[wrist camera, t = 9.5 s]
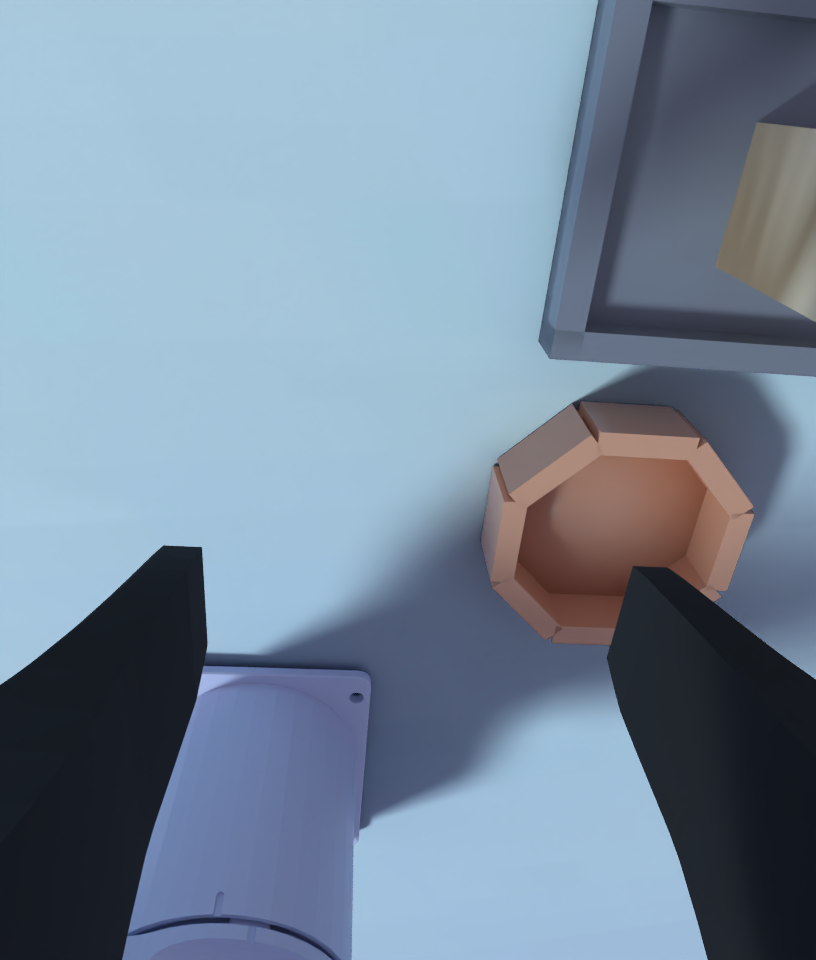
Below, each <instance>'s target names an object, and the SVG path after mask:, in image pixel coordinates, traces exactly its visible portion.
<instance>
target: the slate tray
mask: <svg viewBox="0 0 816 960" xmlns="http://www.w3.org/2000/svg"><path fill="white" fill-rule="evenodd" d="M757 122H760V123H769V124H779V125H788V126H798V127H807V128H816V0H598V5H597V11H596V17H595V22H594V28H593V34H592V39H591V45H590V51H589V56H588V62H587V68H586V73H585V79H584V85H583V91H582V96H581V102H580V108H579V113H578V119H577V125H576V130H575V136H574V142H573V147H572V153H571V159H570V164H569V170H568V176H567V182H566V187H565V193H564V199H563V204H562V210H561V216H560V221H559V227H558V233H557V238H556V244H555V250H554V255H553V261H552V267H551V272H550V278H549V284H548V290H547V295H546V301H545V307H544V312H543V318H542V324H541V329H540V335H539V343H540V344H541V346H542V348H543V349H544V351H545V352H546V354H547V355H548V357H549V358H550V359H560V360H575V361H590V362H605V363H619V364H634V365H649V366H664V367H679V368H694V369H709V370H724V371H739V372H754V373H769V374H784V375H799V376H814V377H816V322H815V321H813V320H811V319H809V318H807V317H805V316H804V315H802V314H800V313H798V312H796V311H795V310H793V309H791V308H789V307H787V306H786V305H784V304H782V303H780V302H778V301H776V300H775V299H773V298H771V297H769V296H767V295H766V294H764V293H762V292H760V291H758V290H757V289H755V288H753V287H751V286H749V285H747V284H746V283H744V282H742V281H740V280H738V279H737V278H735V277H733V276H731V275H729V274H728V273H726V272H724V271H722V270H720V269H718V268H717V267H715V265H716V262H717V259H718V255H719V252H720V248H721V245H722V241H723V238H724V234H725V231H726V227H727V224H728V220H729V217H730V213H731V210H732V206H733V203H734V200H735V196H736V193H737V189H738V186H739V182H740V179H741V175H742V172H743V168H744V165H745V161H746V158H747V154H748V151H749V148H750V144H751V141H752V137H753V134H754V130H755V127H756V123H757Z"/></svg>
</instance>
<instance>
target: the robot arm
mask: <svg viewBox="0 0 816 960" xmlns="http://www.w3.org/2000/svg"><path fill="white" fill-rule="evenodd" d="M206 650H207V627H206V610H205V593H204V576H203V558H202V547H184V546H163V547H161V548H160V549H159V550H158V551H157V552H156V553H155V554H153V555H152V556H151V557H150V558H149V559H148V560H147V561H146V562H145V563H144V564H143V565H142V566H141V567H140V568H139V569H138V570H137V571H136V572H135V573H134V574H133V575H132V576H131V577H130V578H129V579H128V580H126V581H125V582H124V583H123V584H122V585H121V586H120V587H119V588H118V589H117V590H116V591H115V592H114V593H113V594H112V595H111V596H110V597H108V598H107V599H106V600H105V601H104V602H103V603H102V604H101V605H100V606H98V607H97V608H96V609H95V610H94V611H93V612H92V613H91V614H90V615H88V616H87V617H86V618H85V619H84V620H83V621H82V622H81V623H80V624H78V625H77V626H76V627H75V628H74V629H73V630H71V631H70V632H69V633H68V634H66V635H65V636H64V637H63V638H61V639H60V640H59V641H58V642H57V643H55V644H54V645H53V646H52V647H50V648H49V649H48V650H47V651H46V652H44V653H43V654H42V655H41V656H39V657H38V658H37V659H36V660H34V661H33V662H32V663H30V664H29V665H28V666H26V667H25V668H24V669H22V670H21V671H20V672H18V673H17V674H15V675H14V676H13V677H11V678H10V679H8V680H7V681H5V682H4V683H2V684H1V685H0V960H351V957H352V900H353V845H355V844H356V843H357V842H358V839H359V827H360V815H361V803H362V791H363V779H364V767H365V755H366V743H367V731H368V719H369V707H370V695H371V678H370V676H369V675H368V674H367V673H365V672H363V671H357V670H324V669H290V668H257V667H224V666H204V660H205V655H206ZM607 660H608V664H609V668H610V673H611V677H612V681H613V685H614V689H615V693H616V697H617V700H618V704H619V708H620V711H621V714H622V717H623V719H624V722H625V724H626V727H627V730H628V732H629V735H630V737H631V740H632V742H633V745H634V747H635V750H636V752H637V755H638V757H639V759H640V762H641V764H642V767H643V769H644V772H645V774H646V776H647V779H648V781H649V784H650V786H651V789H652V791H653V794H654V796H655V798H656V801H657V803H658V806H659V808H660V811H661V813H662V815H663V818H664V820H665V823H666V825H667V828H668V830H669V833H670V835H671V838H672V841H673V844H674V846H675V849H676V852H677V855H678V858H679V860H680V864H681V867H682V870H683V874H684V877H685V881H686V884H687V887H688V891H689V894H690V897H691V901H692V904H693V908H694V911H695V914H696V918H697V921H698V925H699V929H700V932H701V936H702V940H703V944H704V947H705V951H706V955H707V958H708V960H816V679H814V678H813V677H811V676H810V675H808V674H807V673H806V672H804V671H803V670H801V669H800V668H799V667H797V666H796V665H794V664H793V663H791V662H790V661H789V660H787V659H786V658H785V657H783V656H782V655H781V654H779V653H778V652H777V651H775V650H774V649H773V648H771V647H770V646H769V645H767V644H766V643H765V642H763V641H762V640H761V639H759V638H758V637H757V636H756V635H754V634H753V633H752V632H750V631H749V630H748V629H747V628H745V627H744V626H743V625H742V624H740V623H739V622H738V621H736V620H735V619H734V618H733V617H731V616H730V615H729V614H728V613H726V612H725V611H724V610H723V609H721V608H720V607H719V606H718V605H716V604H715V603H714V602H713V601H711V600H710V599H709V598H708V597H706V596H705V595H704V594H703V593H701V592H700V591H699V590H698V589H696V588H695V587H694V586H692V585H691V584H690V583H689V582H687V581H686V580H685V579H683V578H682V577H681V576H679V575H678V574H676V573H675V572H674V571H672V570H671V569H669V568H668V567H645V566H633V567H632V571H631V574H630V578H629V582H628V585H627V589H626V592H625V596H624V599H623V603H622V606H621V610H620V613H619V617H618V621H617V624H616V628H615V631H614V635H613V638H612V642H611V645H610V649H609V652H608V656H607ZM353 693H361V695H352V694H353Z"/></svg>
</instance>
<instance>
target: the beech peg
mask: <svg viewBox="0 0 816 960" xmlns="http://www.w3.org/2000/svg"><path fill="white" fill-rule="evenodd" d="M715 267H717V268H718V269H720V270H722V271H724V272H726V273H728V274H729V275H731V276H733V277H735V278H737V279H738V280H740V281H742V282H744V283H746V284H747V285H749V286H751V287H753V288H755V289H757V290H758V291H760V292H762V293H764V294H766V295H767V296H769V297H771V298H773V299H775V300H776V301H778V302H780V303H782V304H784V305H786V306H787V307H789V308H791V309H793V310H795V311H796V312H798V313H800V314H802V315H804V316H805V317H807V318H809V319H811V320H813V321H815V322H816V128H807V127H798V126H788V125H779V124H769V123H760V122H757V123H756V127H755V130H754V134H753V137H752V141H751V144H750V148H749V151H748V154H747V158H746V161H745V165H744V168H743V172H742V175H741V179H740V182H739V186H738V189H737V193H736V196H735V200H734V203H733V206H732V210H731V213H730V217H729V220H728V224H727V227H726V231H725V234H724V238H723V241H722V245H721V248H720V252H719V255H718V259H717V262H716V265H715Z"/></svg>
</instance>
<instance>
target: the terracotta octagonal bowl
mask: <svg viewBox="0 0 816 960" xmlns="http://www.w3.org/2000/svg"><path fill="white" fill-rule="evenodd" d="M497 461H498V464H499V466H493V467H492V473H491V479H490V486H489V492H488V498H487V505H486V511H485V517H484V524H483V530H482V536H481V545H482V549H483V553H484V557H485V561H486V565H487V569H488V574H489V578H490V581H491V584H492V588H493V589H494V590H495V591H496V592H497V593H498V594H499V595H500V596H501V597H502V598H503V599H504V600H505V601H506V602H507V603H508V604H509V605H510V606H511V607H512V608H513V609H514V610H515V611H516V612H517V613H518V614H519V615H520V616H521V617H522V618H523V619H524V620H525V621H526V622H527V623H528V624H529V625H530V626H531V627H532V628H533V629H534V630H535V631H536V632H537V633H538V634H539V635H540V636H541V637H542V638H543V639H544V640H547V639H548V638H550V639H551V642H552V643H561V644H591V645H611V642H612V638H613V635H614V631H615V628H616V624H617V621H618V617H619V613H620V610H621V606H622V603H623V599H624V596H625V592H626V589H627V585H628V582H629V578H630V574H631V571H632V567H633V566H645V567H668V568H669V569H671V570H672V571H674V572H675V573H676V574H678V575H679V576H681V577H682V578H683V579H685V580H686V581H687V582H689V583H690V584H691V585H692V586H694V587H695V588H696V589H698V590H699V591H700V592H701V593H703V594H704V595H705V596H706V597H708V598H709V599H710V600H711V601H713V602H714V601H716V600H718V599H719V598H721V596H720V594H719V593H718V591H727V589H728V586H729V584H730V581H731V578H732V575H733V573H734V570H735V567H736V564H737V562H738V559H739V556H740V553H741V551H742V548H743V545H744V542H745V539H746V537H747V534H748V531H749V528H750V526H751V523H752V520H753V517H754V515H755V514H754V513H753V512H752V511H751V508H753V507H754V506H753V505H752V503H751V502H750V501H749V499H748V498H747V496H746V495H745V494H744V492H743V491H742V489H741V488H740V487H739V485H738V484H737V482H736V481H735V480H734V478H733V477H732V475H731V474H730V473H729V471H728V470H727V468H726V467H725V466H724V464H723V463H722V461H721V460H720V459H719V457H718V456H717V454H716V453H715V452H714V450H713V449H712V447H711V446H710V445H709V443H708V442H707V441H706V440H705V439H704V438H703V436H702V435H701V434H700V433H699V432H698V431H697V430H696V429H695V428H694V427H693V426H692V425H691V424H690V422H689V421H688V420H687V419H686V418H685V417H684V416H683V415H682V414H681V413H680V412H679V411H677V412H676V411H675V410H674V409H673V408H672V407H668V406H652V405H636V404H619V403H603V402H587V401H580V406H579V410H577V409H576V408H575V407H574V406H573V404H571V405H570V406H568V407H567V408H565V409H564V410H563V411H561V412H560V413H559V414H557V415H556V416H555V417H553V418H552V419H551V420H549V421H548V422H547V423H545V424H544V425H542V426H541V427H540V428H538V429H537V430H536V431H534V432H533V433H532V434H530V435H529V436H528V437H526V438H525V439H524V440H522V441H521V442H519V443H518V444H517V445H515V446H514V447H513V448H511V449H510V450H509V451H507V452H506V453H505V454H503V455H502V456H501V457H499V458H498V459H497Z"/></svg>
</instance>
